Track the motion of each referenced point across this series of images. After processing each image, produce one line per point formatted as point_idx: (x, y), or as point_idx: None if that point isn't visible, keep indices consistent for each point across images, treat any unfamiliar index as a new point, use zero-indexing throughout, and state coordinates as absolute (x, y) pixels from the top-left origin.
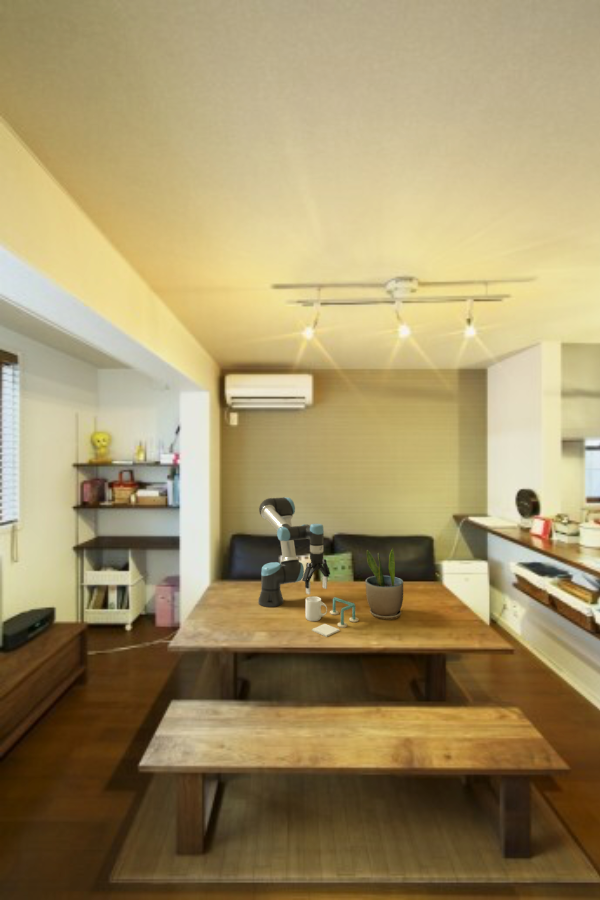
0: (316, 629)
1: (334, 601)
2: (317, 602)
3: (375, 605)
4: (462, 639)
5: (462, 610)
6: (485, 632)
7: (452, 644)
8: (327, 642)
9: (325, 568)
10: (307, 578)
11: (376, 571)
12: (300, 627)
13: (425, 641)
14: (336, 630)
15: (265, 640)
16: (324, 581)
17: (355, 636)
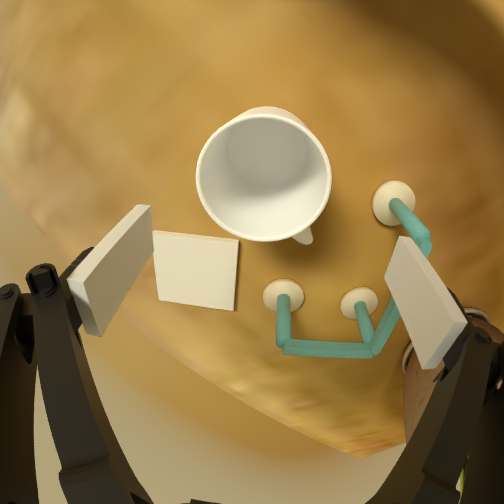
0: (163, 248)
1: (412, 236)
2: (241, 234)
3: (410, 380)
4: (357, 442)
5: None
6: (398, 443)
7: (329, 442)
8: (138, 312)
9: (486, 443)
10: (33, 363)
11: None
12: (139, 171)
13: (317, 428)
14: (216, 307)
15: (9, 164)
16: (416, 305)
17: (236, 352)
